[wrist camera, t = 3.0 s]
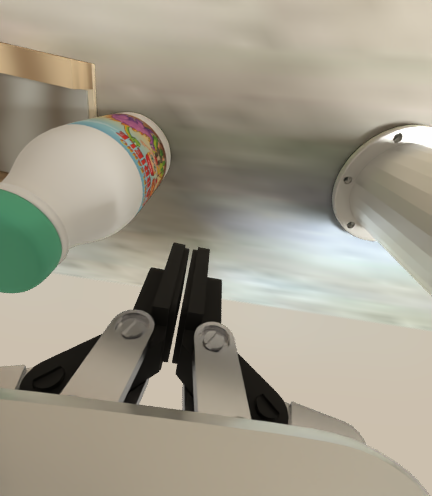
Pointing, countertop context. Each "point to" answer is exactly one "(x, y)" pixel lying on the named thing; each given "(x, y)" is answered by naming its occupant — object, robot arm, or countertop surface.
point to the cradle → (40, 97)
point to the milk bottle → (75, 191)
